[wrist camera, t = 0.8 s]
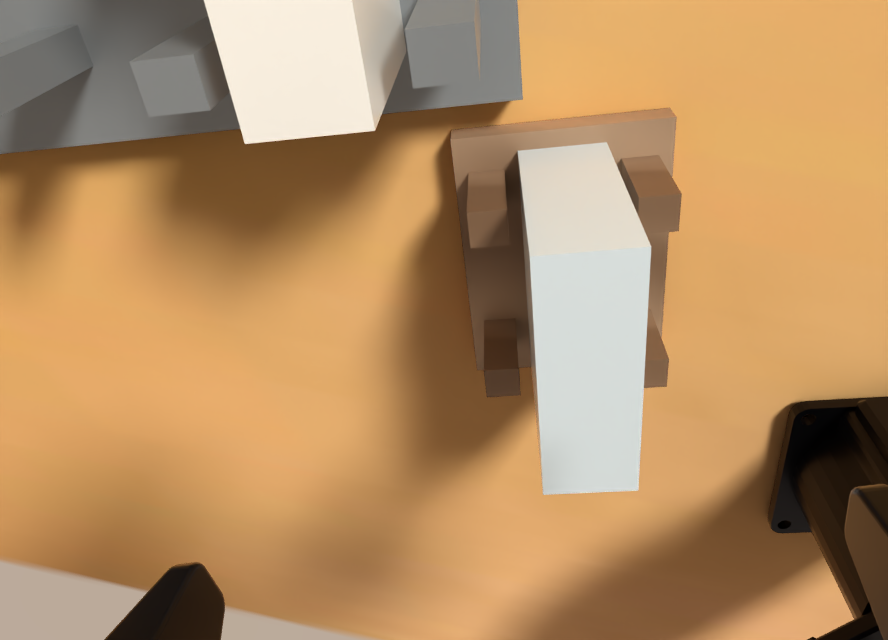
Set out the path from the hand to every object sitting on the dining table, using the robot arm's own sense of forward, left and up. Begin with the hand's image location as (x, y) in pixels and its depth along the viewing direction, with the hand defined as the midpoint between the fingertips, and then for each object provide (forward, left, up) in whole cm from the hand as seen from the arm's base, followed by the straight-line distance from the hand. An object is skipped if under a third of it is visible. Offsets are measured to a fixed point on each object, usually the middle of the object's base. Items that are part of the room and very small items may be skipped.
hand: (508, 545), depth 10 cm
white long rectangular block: (-2, -2, -12) cm, 13 cm away
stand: (-2, -2, -13) cm, 13 cm away
